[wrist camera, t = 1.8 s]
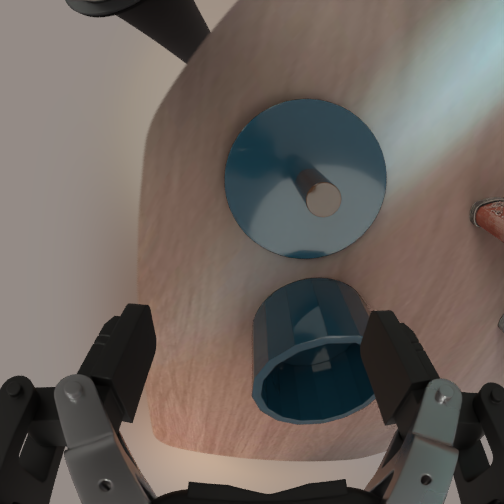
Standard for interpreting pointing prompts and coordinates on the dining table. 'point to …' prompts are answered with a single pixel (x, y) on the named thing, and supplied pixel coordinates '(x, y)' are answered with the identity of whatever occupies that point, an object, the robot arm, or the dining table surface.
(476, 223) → the lighter
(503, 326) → the hip flask
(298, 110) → the pot lid
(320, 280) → the pot
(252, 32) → the dining table surface
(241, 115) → the dining table surface
